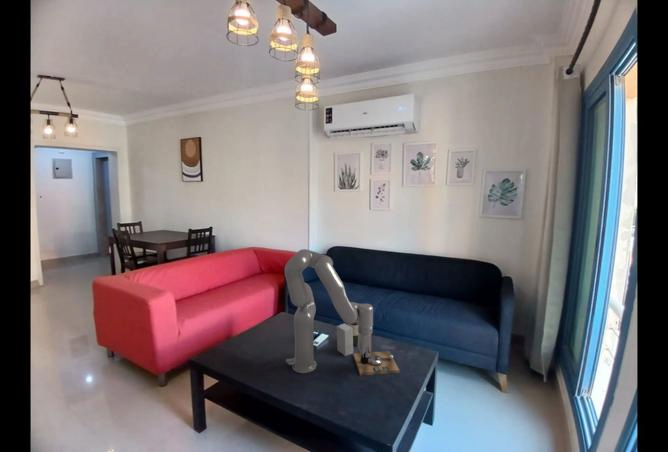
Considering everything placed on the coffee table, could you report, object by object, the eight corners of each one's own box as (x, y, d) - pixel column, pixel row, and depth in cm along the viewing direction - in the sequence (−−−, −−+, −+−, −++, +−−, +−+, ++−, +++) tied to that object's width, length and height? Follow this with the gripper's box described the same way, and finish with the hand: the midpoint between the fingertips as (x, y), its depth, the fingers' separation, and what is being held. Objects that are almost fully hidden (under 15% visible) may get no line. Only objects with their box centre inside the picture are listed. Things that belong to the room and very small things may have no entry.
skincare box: (353, 353, 175) (353, 328, 173) (344, 356, 172) (345, 330, 170) (344, 347, 182) (345, 322, 180) (336, 350, 178) (336, 325, 177)
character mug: (363, 342, 187) (364, 321, 185) (361, 348, 180) (362, 326, 179) (345, 340, 190) (346, 319, 188) (343, 345, 183) (343, 324, 181)
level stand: (360, 375, 155) (360, 372, 154) (353, 356, 172) (353, 352, 172) (399, 372, 157) (399, 369, 157) (388, 353, 175) (388, 350, 174)
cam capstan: (390, 355, 169) (391, 344, 169) (395, 363, 162) (395, 352, 161) (358, 357, 167) (358, 346, 166) (361, 366, 159) (361, 354, 159)
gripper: (355, 322, 164) (354, 355, 166) (360, 336, 149) (360, 372, 151) (369, 322, 164) (368, 354, 167) (376, 335, 150) (375, 371, 152)
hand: (364, 363), depth 159 cm, fingers closed
